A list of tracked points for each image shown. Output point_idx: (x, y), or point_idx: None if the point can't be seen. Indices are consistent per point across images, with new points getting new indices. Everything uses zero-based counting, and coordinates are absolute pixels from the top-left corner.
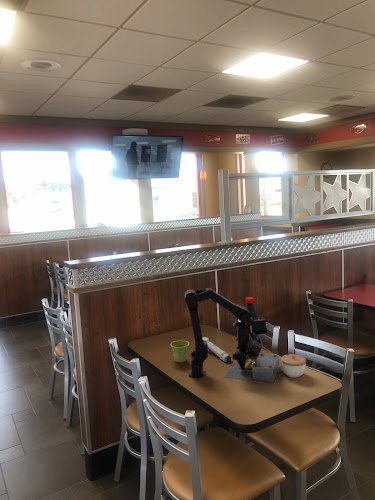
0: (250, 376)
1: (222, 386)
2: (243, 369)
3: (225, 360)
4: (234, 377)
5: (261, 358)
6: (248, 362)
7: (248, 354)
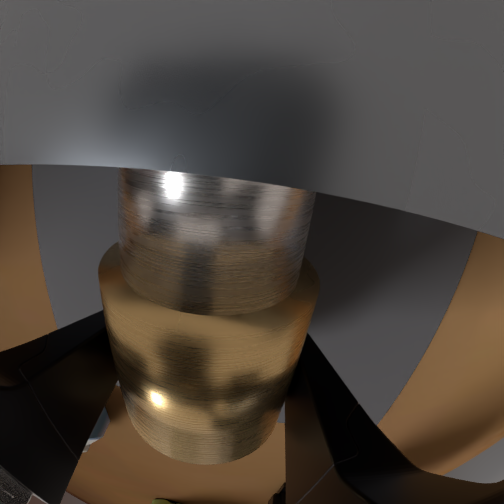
0: (374, 221)
1: (479, 397)
2: (309, 344)
3: (102, 423)
4: (388, 372)
5: (54, 12)
6: (266, 358)
7: (23, 395)
